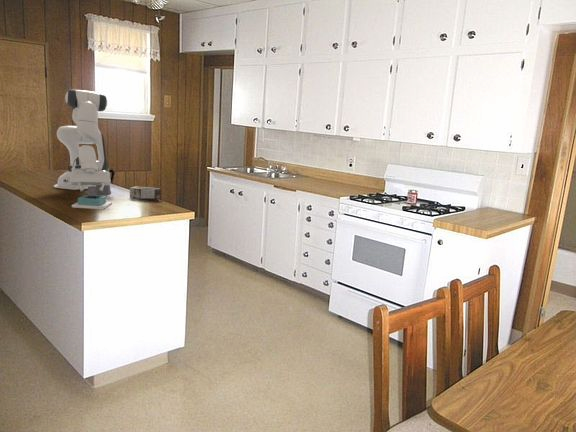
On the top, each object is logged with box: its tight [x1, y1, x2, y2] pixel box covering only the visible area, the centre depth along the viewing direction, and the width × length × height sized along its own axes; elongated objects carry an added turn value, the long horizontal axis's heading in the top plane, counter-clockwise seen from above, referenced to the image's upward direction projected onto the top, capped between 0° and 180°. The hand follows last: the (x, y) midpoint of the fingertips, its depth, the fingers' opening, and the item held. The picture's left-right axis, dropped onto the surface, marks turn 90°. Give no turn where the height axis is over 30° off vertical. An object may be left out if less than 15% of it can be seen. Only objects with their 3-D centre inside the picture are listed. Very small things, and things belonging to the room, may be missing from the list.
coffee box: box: [129, 185, 162, 202], centre depth 277 cm, size 9×6×16 cm
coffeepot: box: [95, 168, 116, 196], centre depth 281 cm, size 15×9×18 cm, turn 68°
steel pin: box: [87, 185, 97, 199], centre depth 246 cm, size 4×4×9 cm
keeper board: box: [71, 194, 113, 210], centre depth 247 cm, size 16×14×5 cm
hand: (91, 190), depth 246 cm, fingers open, 8 cm apart
